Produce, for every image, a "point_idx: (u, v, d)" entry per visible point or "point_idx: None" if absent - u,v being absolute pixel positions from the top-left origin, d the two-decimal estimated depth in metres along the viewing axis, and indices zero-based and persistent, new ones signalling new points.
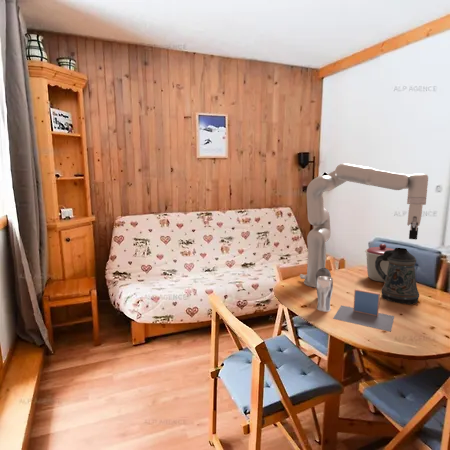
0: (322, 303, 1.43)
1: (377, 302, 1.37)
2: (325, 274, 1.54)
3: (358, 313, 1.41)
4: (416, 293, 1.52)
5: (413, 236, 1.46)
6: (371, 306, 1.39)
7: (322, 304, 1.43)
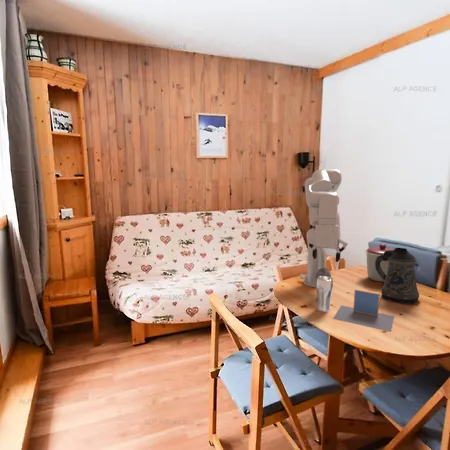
0: (322, 303, 1.43)
1: (377, 302, 1.37)
2: (325, 274, 1.54)
3: (358, 313, 1.41)
4: (416, 293, 1.52)
5: (339, 258, 1.39)
6: (371, 306, 1.39)
7: (322, 304, 1.43)
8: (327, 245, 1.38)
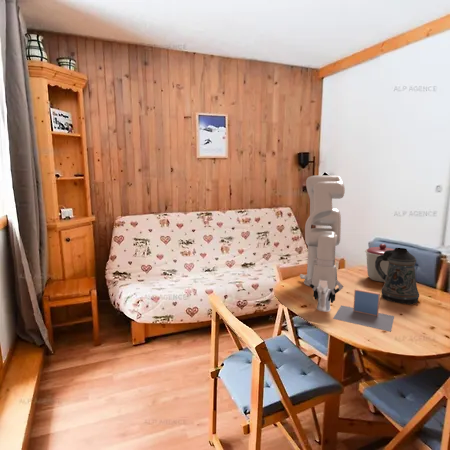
0: (322, 303, 1.43)
1: (377, 302, 1.37)
2: None
3: (358, 313, 1.41)
4: (416, 293, 1.52)
5: (334, 299, 1.43)
6: (371, 306, 1.39)
7: (322, 304, 1.43)
8: None
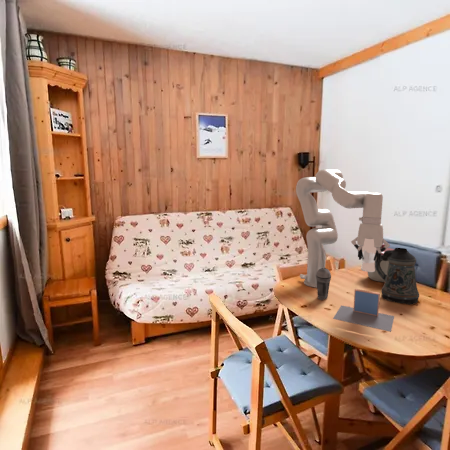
0: (367, 263, 1.43)
1: (377, 302, 1.37)
2: (325, 274, 1.54)
3: (358, 313, 1.41)
4: (416, 293, 1.52)
5: (380, 258, 1.42)
6: (371, 306, 1.39)
7: (368, 264, 1.43)
8: None
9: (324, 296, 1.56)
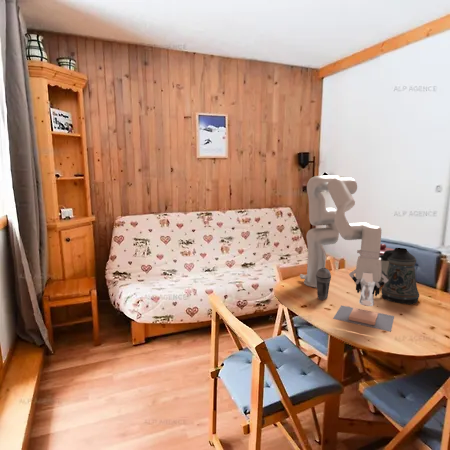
0: (366, 297, 1.39)
1: None
2: (325, 274, 1.54)
3: None
4: (416, 293, 1.52)
5: None
6: None
7: (366, 298, 1.39)
8: None
9: (324, 296, 1.56)
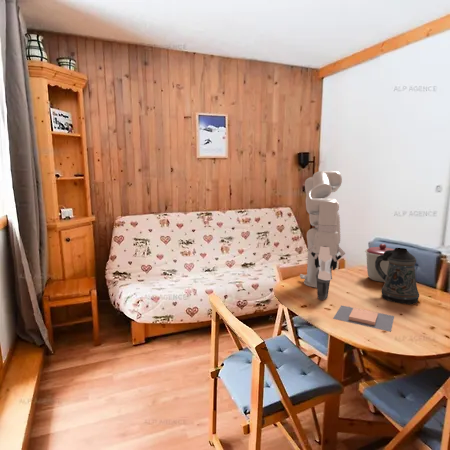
0: (323, 271, 1.41)
1: None
2: None
3: None
4: (416, 293, 1.52)
5: (336, 266, 1.40)
6: None
7: (324, 272, 1.41)
8: None
9: (324, 296, 1.56)
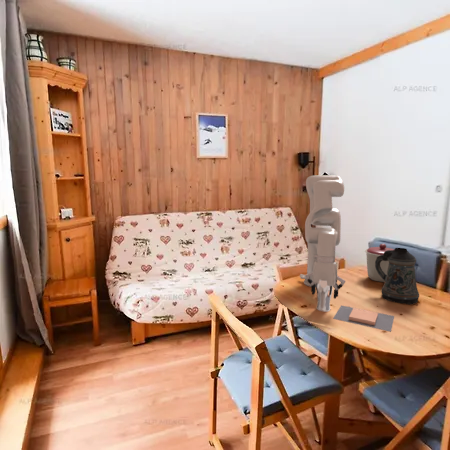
0: (322, 303, 1.43)
1: None
2: None
3: None
4: (416, 293, 1.52)
5: (337, 294, 1.42)
6: None
7: (322, 304, 1.43)
8: None
9: None
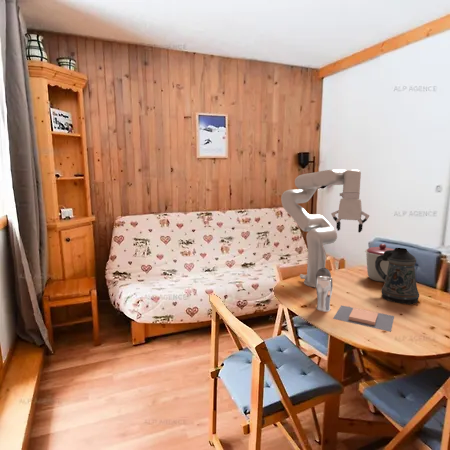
0: (322, 303, 1.43)
1: None
2: (325, 274, 1.54)
3: None
4: (416, 293, 1.52)
5: None
6: None
7: (322, 304, 1.43)
8: (351, 217, 1.52)
9: None
